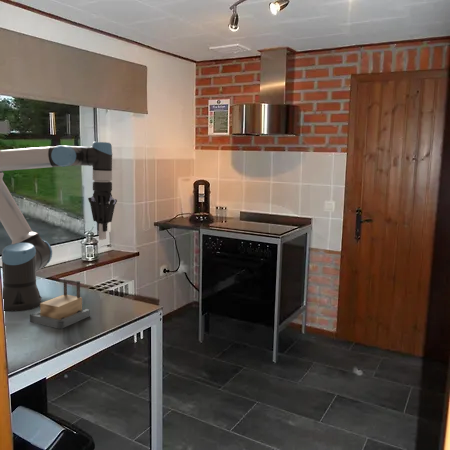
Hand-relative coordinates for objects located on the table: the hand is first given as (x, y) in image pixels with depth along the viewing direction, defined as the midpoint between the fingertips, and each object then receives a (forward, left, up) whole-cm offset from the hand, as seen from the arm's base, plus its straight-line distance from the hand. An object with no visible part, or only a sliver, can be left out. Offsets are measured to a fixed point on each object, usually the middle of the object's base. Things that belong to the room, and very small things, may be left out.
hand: (102, 239), depth 186 cm
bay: (+4, -27, -24) cm, 37 cm away
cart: (+4, -27, -25) cm, 37 cm away
